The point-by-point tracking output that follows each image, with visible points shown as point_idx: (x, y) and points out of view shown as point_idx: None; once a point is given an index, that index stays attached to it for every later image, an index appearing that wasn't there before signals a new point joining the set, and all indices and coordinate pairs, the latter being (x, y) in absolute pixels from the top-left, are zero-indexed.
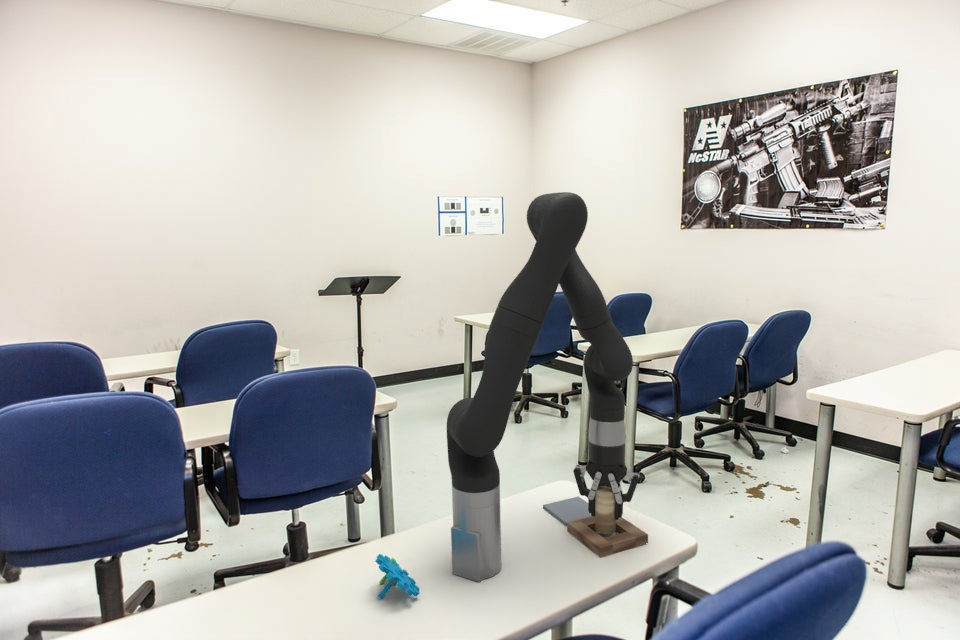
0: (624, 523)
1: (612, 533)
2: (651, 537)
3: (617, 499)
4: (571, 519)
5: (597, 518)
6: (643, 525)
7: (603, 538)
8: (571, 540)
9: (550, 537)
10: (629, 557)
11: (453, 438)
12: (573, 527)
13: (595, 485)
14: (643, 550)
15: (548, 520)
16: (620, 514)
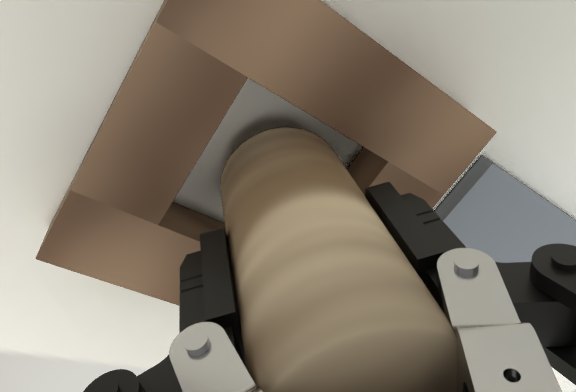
0: None
1: (225, 165)
2: (69, 284)
3: (217, 350)
4: (473, 206)
5: (337, 172)
6: (159, 347)
7: (246, 70)
8: (426, 35)
9: (540, 3)
10: (48, 28)
11: None
12: (453, 100)
13: (506, 380)
14: (27, 151)
15: (568, 159)
16: (191, 268)
